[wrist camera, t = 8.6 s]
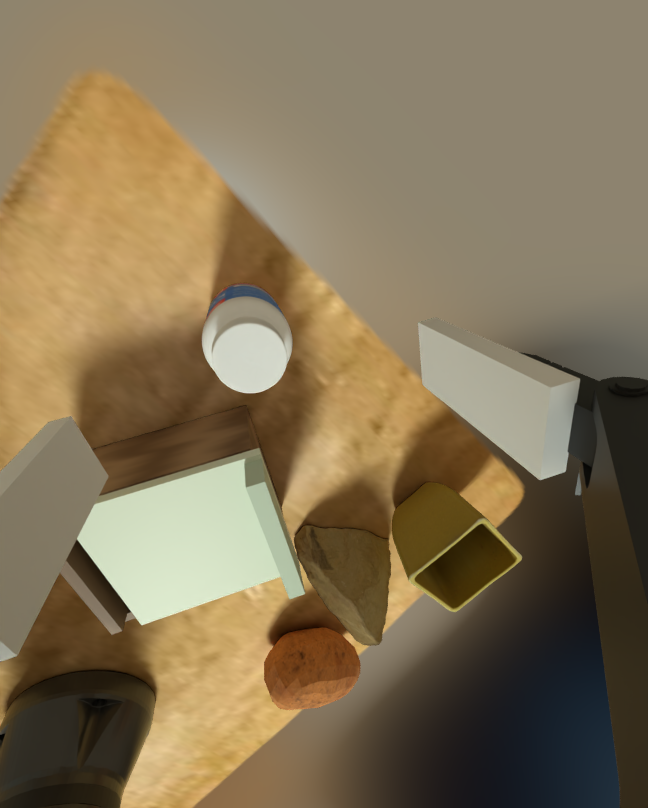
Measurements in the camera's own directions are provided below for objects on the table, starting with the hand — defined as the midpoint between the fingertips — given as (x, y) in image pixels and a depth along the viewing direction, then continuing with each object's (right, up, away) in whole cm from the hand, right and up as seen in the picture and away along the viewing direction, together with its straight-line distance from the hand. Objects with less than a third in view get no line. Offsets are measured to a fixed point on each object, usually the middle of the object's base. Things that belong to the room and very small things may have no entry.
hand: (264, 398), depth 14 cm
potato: (0, -30, +33) cm, 44 cm away
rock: (+4, -15, +26) cm, 31 cm away
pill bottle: (-4, +6, +14) cm, 16 cm away
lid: (-7, -10, +13) cm, 18 cm away
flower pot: (+13, -12, +27) cm, 32 cm away
